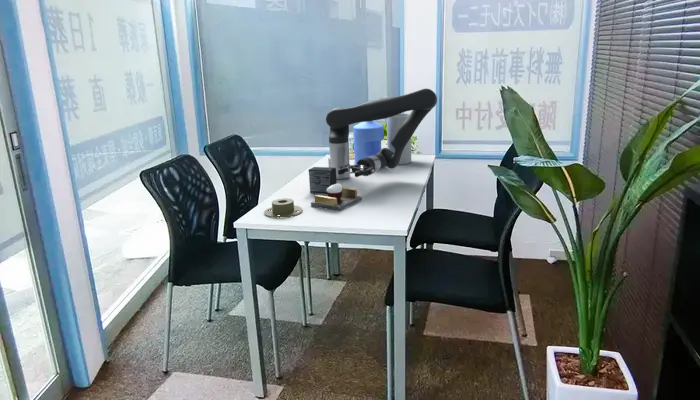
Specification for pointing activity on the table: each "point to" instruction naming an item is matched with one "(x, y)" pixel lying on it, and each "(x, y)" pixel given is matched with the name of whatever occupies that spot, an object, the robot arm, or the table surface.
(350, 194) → the plate
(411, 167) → the table surface
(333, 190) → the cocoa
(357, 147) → the water jug
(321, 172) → the small box
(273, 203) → the flange
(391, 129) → the cylinder vase
